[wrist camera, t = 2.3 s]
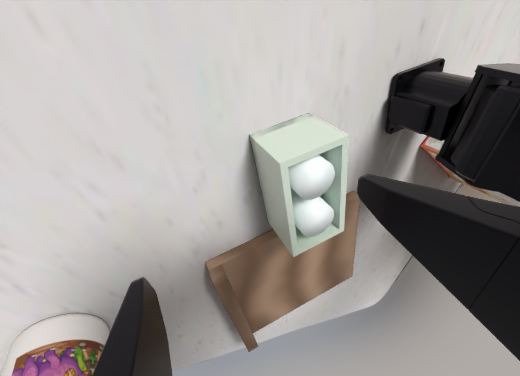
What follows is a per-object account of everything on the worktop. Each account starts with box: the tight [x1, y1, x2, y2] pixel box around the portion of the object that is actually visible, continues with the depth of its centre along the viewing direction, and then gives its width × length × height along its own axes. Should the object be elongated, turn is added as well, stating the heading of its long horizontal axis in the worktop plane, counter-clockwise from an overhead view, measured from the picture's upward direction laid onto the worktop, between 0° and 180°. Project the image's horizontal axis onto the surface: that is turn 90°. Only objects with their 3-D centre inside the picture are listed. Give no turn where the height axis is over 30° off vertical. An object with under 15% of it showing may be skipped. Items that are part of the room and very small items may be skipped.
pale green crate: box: [249, 113, 349, 257], centre depth 24 cm, size 6×11×6 cm, turn 11°
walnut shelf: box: [205, 191, 360, 352], centre depth 35 cm, size 20×18×3 cm
